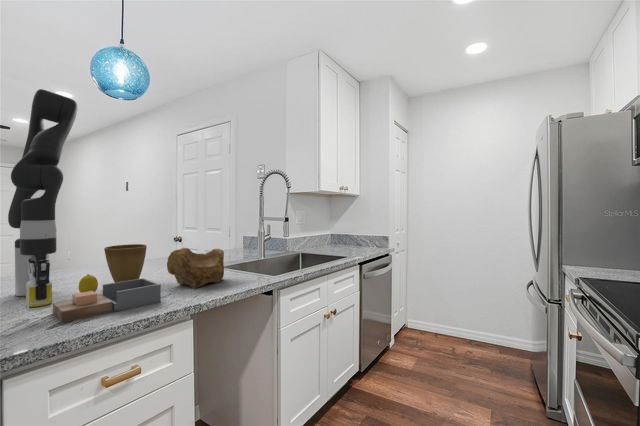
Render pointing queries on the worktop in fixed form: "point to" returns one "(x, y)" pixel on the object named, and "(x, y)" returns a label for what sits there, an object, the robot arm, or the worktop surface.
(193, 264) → the rough brown rock
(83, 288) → the lemon
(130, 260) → the plant pot
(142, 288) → the box
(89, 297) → the block
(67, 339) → the worktop surface
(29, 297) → the supplement bottle
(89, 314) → the brown wavy slab
